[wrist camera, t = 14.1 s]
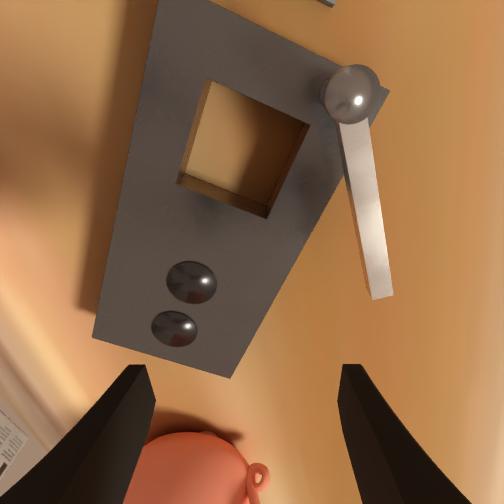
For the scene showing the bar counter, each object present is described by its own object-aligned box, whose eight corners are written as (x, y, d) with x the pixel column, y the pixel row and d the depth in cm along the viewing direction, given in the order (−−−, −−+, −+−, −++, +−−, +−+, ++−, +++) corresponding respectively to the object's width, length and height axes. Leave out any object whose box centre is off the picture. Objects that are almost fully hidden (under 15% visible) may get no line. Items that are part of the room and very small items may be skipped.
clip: (350, 272, 17) (367, 308, 15) (308, 78, 13) (320, 76, 10) (383, 264, 17) (406, 299, 14) (351, 62, 12) (376, 55, 10)
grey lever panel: (105, 317, 22) (90, 338, 21) (176, -8, 13) (162, -23, 11) (232, 357, 24) (230, 379, 22) (375, 89, 15) (391, 90, 13)
